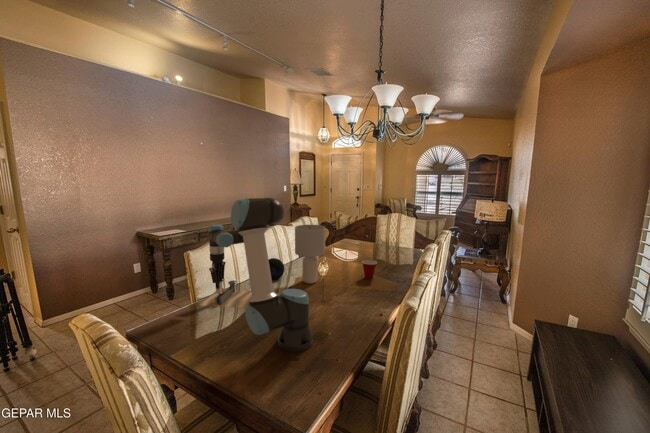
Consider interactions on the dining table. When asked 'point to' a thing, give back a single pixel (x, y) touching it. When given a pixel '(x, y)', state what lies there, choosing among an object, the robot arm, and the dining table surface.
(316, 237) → the lamp
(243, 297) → the board
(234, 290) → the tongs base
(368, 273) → the plastic cup
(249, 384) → the dining table surface
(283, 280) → the dining table surface
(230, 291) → the grey lever with knob
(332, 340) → the dining table surface
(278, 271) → the decorative sphere
